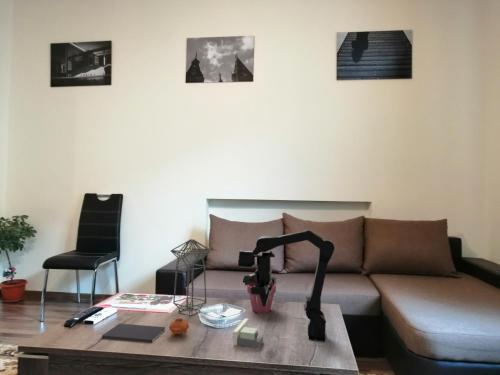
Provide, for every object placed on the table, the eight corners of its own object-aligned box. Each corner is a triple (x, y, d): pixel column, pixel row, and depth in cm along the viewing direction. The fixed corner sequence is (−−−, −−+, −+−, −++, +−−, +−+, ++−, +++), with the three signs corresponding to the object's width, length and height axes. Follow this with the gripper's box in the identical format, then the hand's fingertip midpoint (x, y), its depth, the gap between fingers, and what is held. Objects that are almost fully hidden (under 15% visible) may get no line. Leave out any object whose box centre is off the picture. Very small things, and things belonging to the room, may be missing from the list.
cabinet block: (258, 341, 133) (259, 328, 133) (255, 347, 128) (255, 333, 128) (244, 339, 134) (244, 326, 134) (239, 344, 130) (240, 331, 130)
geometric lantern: (166, 313, 163) (168, 239, 165) (190, 305, 176) (191, 237, 177) (190, 319, 154) (191, 241, 156) (213, 311, 167) (214, 239, 168)
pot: (192, 330, 142) (191, 316, 140) (184, 342, 135) (183, 327, 133) (175, 327, 144) (174, 313, 142) (166, 339, 137) (164, 324, 135)
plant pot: (266, 317, 159) (266, 289, 159) (241, 311, 166) (241, 285, 166) (280, 308, 171) (280, 282, 171) (256, 303, 178) (256, 278, 179)
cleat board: (268, 333, 140) (268, 321, 140) (258, 348, 126) (258, 335, 126) (245, 330, 143) (245, 318, 143) (233, 344, 129) (233, 331, 129)
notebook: (101, 339, 134) (152, 344, 131) (101, 335, 134) (152, 339, 131) (119, 327, 147) (165, 330, 143) (119, 323, 147) (166, 327, 143)
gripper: (251, 262, 151) (252, 297, 151) (237, 271, 133) (238, 311, 133) (276, 263, 148) (276, 299, 147) (265, 273, 130) (265, 314, 130)
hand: (264, 306), depth 139 cm, fingers closed
